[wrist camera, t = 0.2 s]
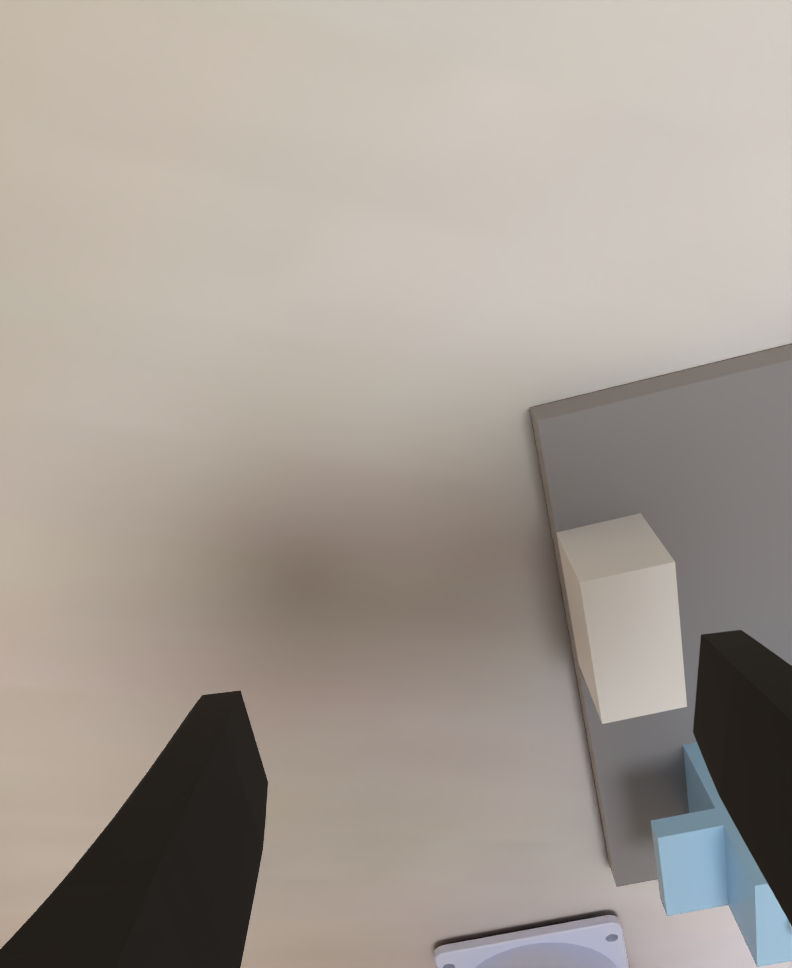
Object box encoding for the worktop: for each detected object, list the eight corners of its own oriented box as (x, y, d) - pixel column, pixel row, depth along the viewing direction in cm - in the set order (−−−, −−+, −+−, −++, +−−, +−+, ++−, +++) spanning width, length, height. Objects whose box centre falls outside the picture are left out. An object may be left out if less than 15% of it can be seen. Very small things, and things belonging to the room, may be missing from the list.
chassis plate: (917, 804, 27) (988, 892, 24) (608, 862, 28) (638, 954, 25) (982, 297, 18) (1108, 331, 15) (529, 407, 19) (560, 460, 16)
